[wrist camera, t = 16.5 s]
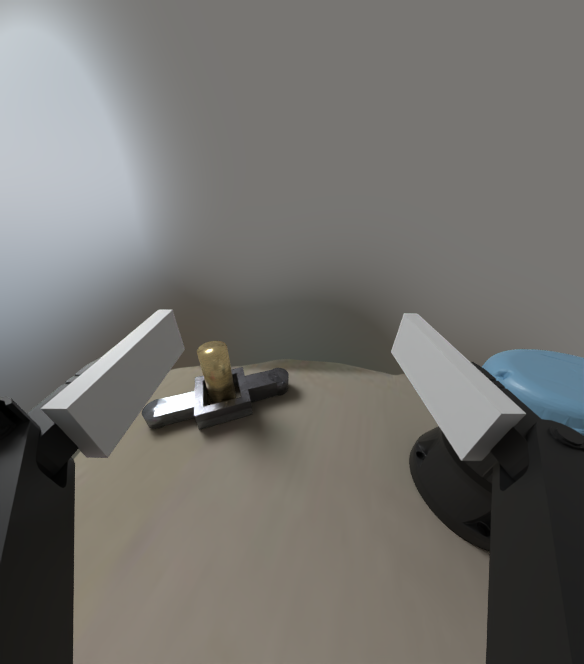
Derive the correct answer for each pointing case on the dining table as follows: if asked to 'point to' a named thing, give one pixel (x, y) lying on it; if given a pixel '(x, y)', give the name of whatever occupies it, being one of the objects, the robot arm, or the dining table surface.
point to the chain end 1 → (183, 411)
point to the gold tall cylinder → (217, 371)
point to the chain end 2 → (250, 391)
